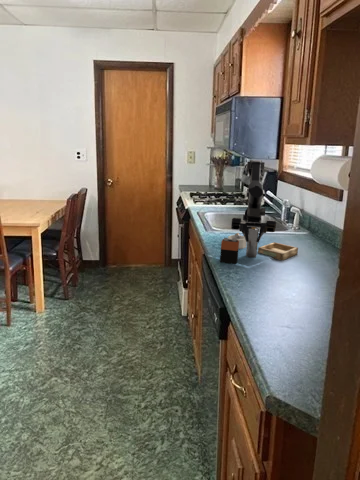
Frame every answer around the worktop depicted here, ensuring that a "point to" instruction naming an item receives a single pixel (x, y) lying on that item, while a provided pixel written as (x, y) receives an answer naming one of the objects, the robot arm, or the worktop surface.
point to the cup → (241, 241)
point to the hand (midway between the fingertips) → (252, 241)
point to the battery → (229, 250)
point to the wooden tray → (278, 250)
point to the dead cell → (237, 236)
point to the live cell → (252, 242)
